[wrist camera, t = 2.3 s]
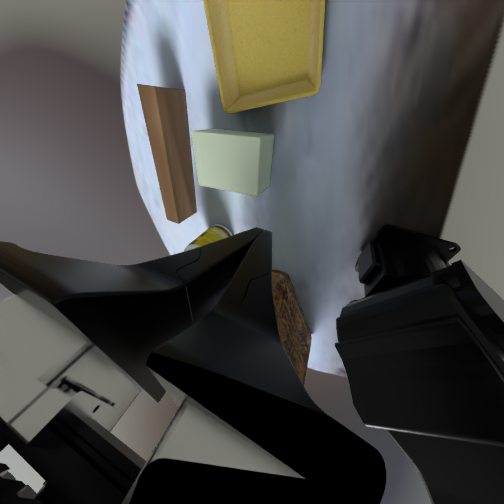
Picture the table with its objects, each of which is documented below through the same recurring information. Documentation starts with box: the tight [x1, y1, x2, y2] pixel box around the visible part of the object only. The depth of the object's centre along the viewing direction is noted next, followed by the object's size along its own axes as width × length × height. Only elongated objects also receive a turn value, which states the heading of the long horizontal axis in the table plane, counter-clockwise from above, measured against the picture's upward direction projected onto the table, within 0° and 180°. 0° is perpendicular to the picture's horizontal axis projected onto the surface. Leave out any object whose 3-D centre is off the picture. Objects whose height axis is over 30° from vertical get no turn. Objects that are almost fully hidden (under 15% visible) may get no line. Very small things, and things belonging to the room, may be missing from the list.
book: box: [272, 270, 311, 386], centre depth 23 cm, size 16×6×25 cm, turn 24°
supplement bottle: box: [184, 224, 233, 252], centre depth 26 cm, size 5×5×8 cm
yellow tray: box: [203, 0, 325, 114], centre depth 14 cm, size 9×9×2 cm
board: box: [137, 84, 197, 224], centre depth 22 cm, size 2×14×4 cm, turn 173°
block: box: [191, 129, 274, 197], centre depth 19 cm, size 7×5×4 cm
